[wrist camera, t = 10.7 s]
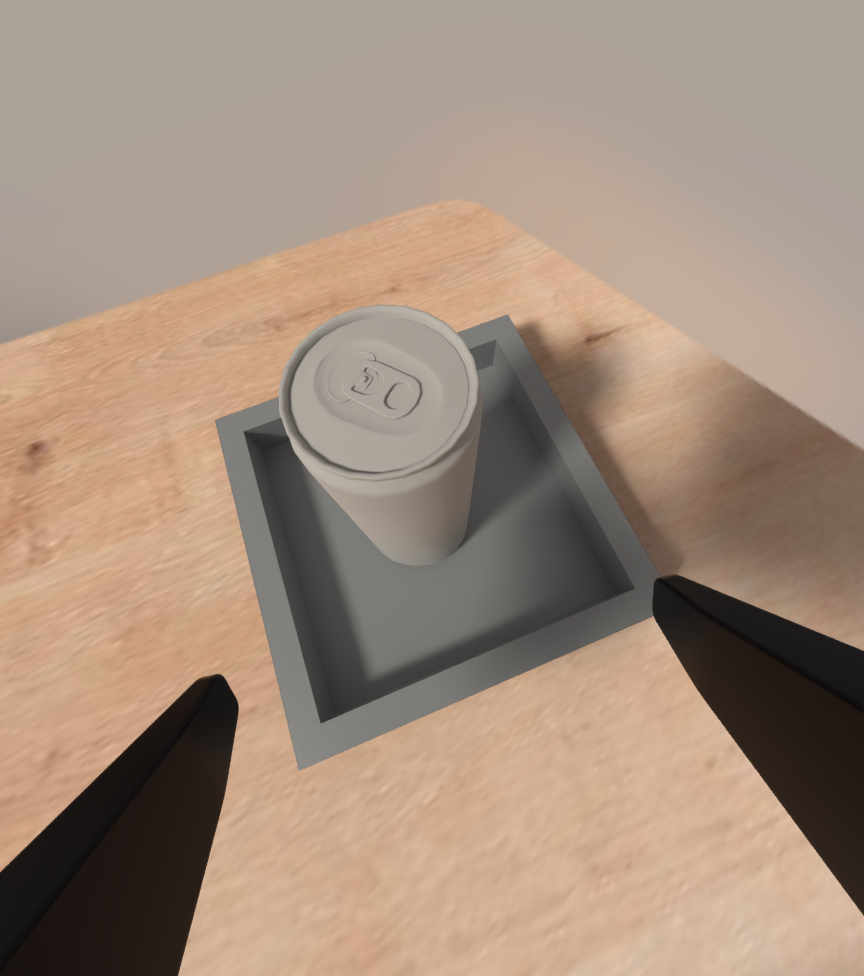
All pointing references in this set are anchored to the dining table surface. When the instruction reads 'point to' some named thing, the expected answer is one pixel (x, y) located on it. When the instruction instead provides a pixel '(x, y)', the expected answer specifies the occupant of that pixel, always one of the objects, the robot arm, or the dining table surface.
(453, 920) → the dining table surface
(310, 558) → the tray
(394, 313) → the beverage can
